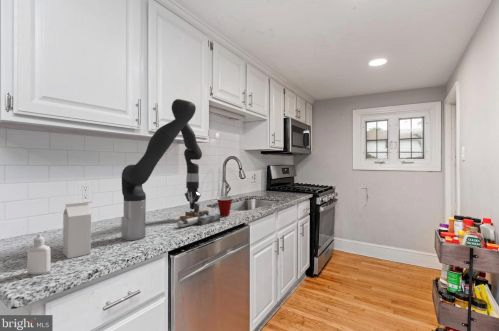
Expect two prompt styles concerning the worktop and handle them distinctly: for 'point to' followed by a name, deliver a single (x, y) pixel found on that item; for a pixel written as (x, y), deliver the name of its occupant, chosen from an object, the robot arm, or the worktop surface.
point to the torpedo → (187, 222)
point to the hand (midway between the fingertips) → (192, 208)
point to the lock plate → (202, 217)
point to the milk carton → (76, 230)
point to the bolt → (197, 209)
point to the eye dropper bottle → (38, 257)
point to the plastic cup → (224, 205)
